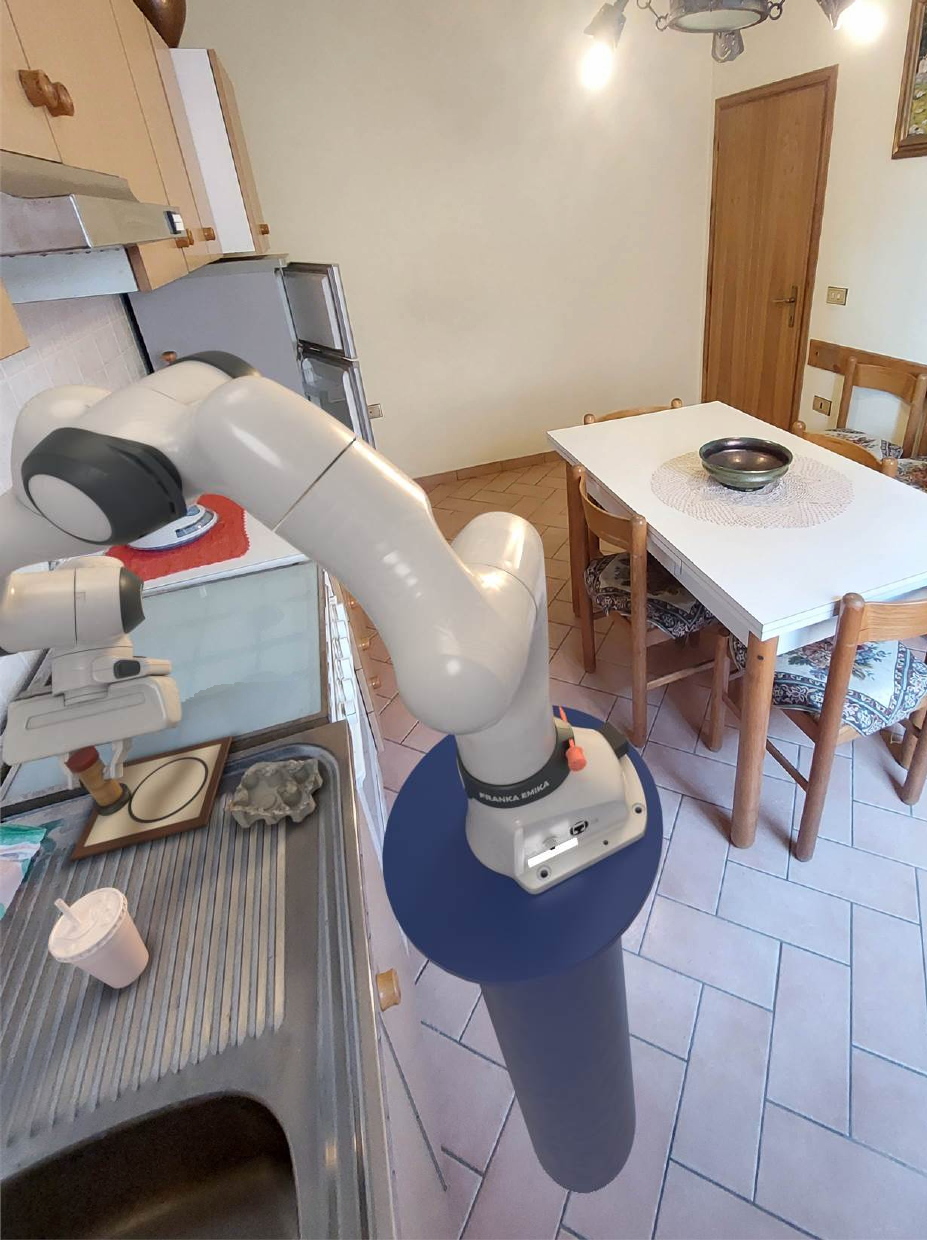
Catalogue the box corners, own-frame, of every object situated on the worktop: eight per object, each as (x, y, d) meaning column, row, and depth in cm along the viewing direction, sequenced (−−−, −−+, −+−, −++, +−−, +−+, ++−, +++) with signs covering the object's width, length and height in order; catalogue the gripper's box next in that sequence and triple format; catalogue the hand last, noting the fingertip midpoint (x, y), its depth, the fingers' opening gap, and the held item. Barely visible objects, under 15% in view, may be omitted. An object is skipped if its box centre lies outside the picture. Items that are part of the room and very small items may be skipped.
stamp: (136, 784, 83) (104, 740, 79) (124, 811, 80) (91, 765, 75) (104, 792, 83) (71, 748, 78) (92, 819, 79) (56, 774, 75)
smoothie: (91, 965, 65) (23, 895, 58) (157, 920, 68) (100, 849, 62) (97, 1020, 60) (24, 951, 54) (167, 969, 64) (107, 899, 57)
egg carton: (228, 831, 77) (216, 811, 75) (254, 777, 84) (244, 758, 82) (310, 825, 77) (300, 805, 75) (329, 772, 83) (320, 753, 81)
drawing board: (233, 738, 90) (231, 734, 90) (207, 825, 78) (205, 822, 78) (116, 766, 87) (114, 763, 87) (71, 861, 75) (68, 858, 75)
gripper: (-10, 695, 77) (-13, 810, 74) (161, 657, 81) (166, 766, 77) (26, 693, 83) (25, 800, 80) (184, 658, 87) (190, 759, 83)
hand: (96, 783), depth 78 cm, fingers closed on stamp, 3 cm apart
